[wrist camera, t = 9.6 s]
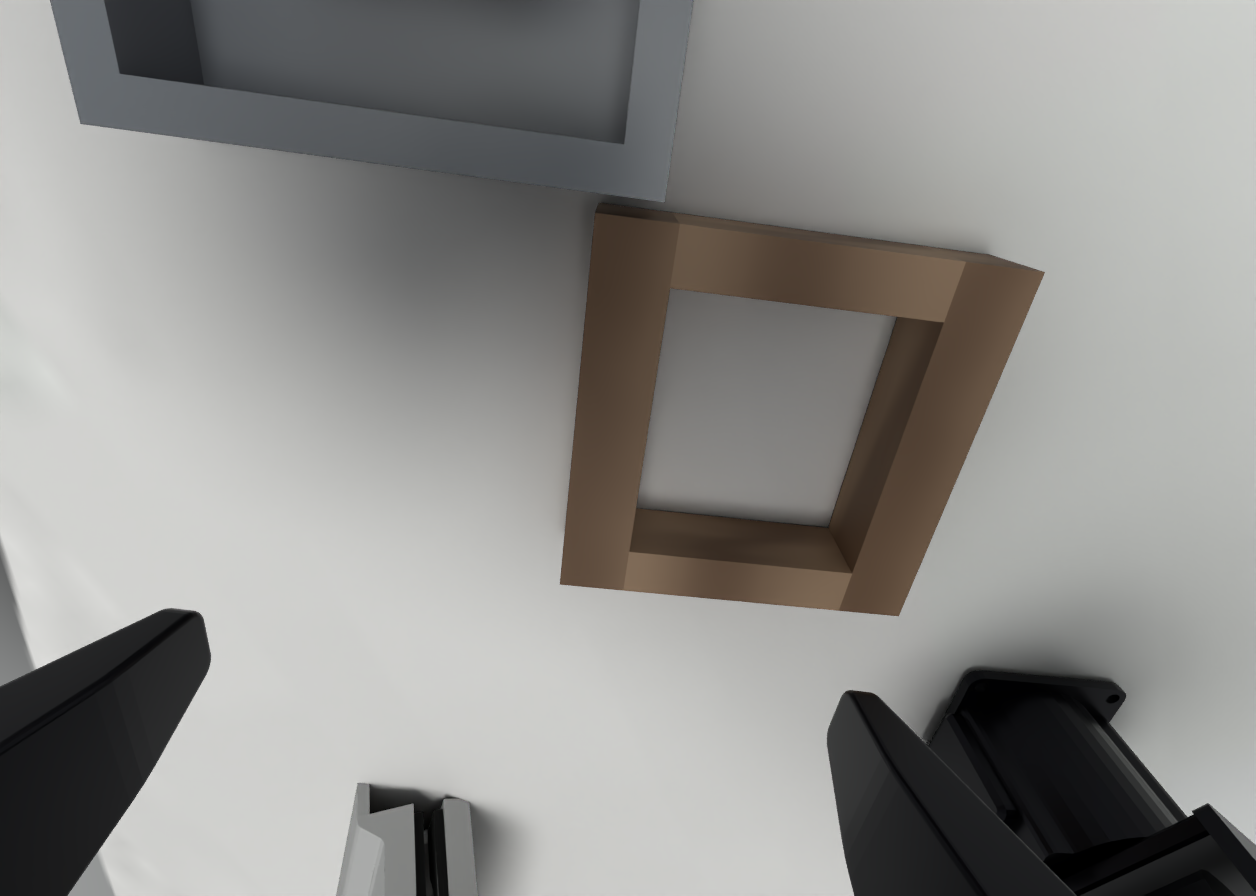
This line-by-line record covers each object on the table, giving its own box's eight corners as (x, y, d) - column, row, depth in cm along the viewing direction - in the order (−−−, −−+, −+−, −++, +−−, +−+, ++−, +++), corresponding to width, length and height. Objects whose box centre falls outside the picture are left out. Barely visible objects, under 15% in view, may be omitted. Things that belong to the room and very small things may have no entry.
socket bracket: (989, 254, 17) (1044, 272, 15) (870, 567, 22) (898, 616, 20) (598, 202, 16) (594, 212, 14) (566, 537, 21) (559, 584, 19)
